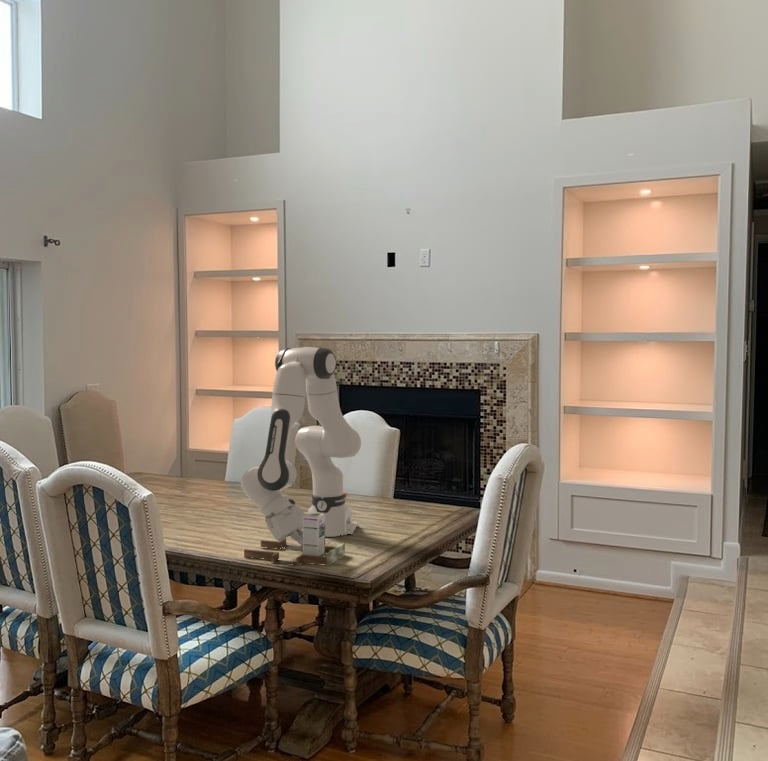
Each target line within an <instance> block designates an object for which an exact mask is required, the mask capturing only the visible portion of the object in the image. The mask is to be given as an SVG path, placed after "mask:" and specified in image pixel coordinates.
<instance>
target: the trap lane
mask: <svg viewBox="0 0 768 761" xmlns="http://www.w3.org/2000/svg"><path fill="white" fill-rule="evenodd" d="M261 547H267V548H277V549H280V548H282V547H283V548H284V547H285V549H284V550H286V549H295V550H294V551H297V550H301V551H302V549H303V544H302V545H294V544H293V545H292V544H287V538H285V539H283V540H281V541H278V540H276V541H275V540H268V539H267V540H265V539H261V540H260V548H261ZM277 549H276V550H277ZM280 550H281V549H280ZM301 551H300V552H301ZM325 553H327V554H326V556H325V557H322V556H312V555H302V554H300V555H299V556H297V557H296V561H294V560H293V562H291V560H283V559H280V552H278V551H270V550H269V551H268V550H267V551H266V550H257V549H248V548H247V549H244V550H243V555H244V556H243V557H244V558H245V557H253V558H252V559H255V558H264V559H263V560H265V559H271V560H270V563H271V562H273V563H272V564H275V563H282V564H281V565H285V564H293V565H292V566H295V565H300V564H301V563H303V564H305V563H314V564H313V565H315V564H325V565H331V564H332V563H334V562H335V561H336V560H338V559H339V558H340V557H342V556H343V555H344V554H345V555H346V542H340V543H339V544H338V545H336V546H331V545H325ZM345 555H344V556H345ZM344 556H343V557H344ZM343 557H342V558H343ZM278 559H279V560H278ZM340 559H341V558H340ZM340 559H339V560H340ZM339 560H338V561H339ZM289 561H290V562H289ZM336 562H337V561H336ZM336 562H335V563H336ZM335 563H334V564H335ZM301 565H302V564H301ZM301 565H300V566H301ZM325 565H324V566H325ZM332 565H333V564H332ZM332 565H331V566H332Z"/></svg>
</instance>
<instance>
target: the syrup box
mask: <svg viewBox="0 0 768 761" xmlns="http://www.w3.org/2000/svg"><path fill="white" fill-rule="evenodd" d="M302 531H303V549H302V552H301V555H312V556H322V557H324V556H325V557H326V554H325V546H326V537H325V514H323V513H315V512H310V513H309V514H308V513H307V514H305V516H303V529H302Z"/></svg>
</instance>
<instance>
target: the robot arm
mask: <svg viewBox="0 0 768 761" xmlns="http://www.w3.org/2000/svg"><path fill="white" fill-rule="evenodd" d="M274 360H275V361H274V367H275V370H276V375H275V378H274V382H273V389H272V394H271V395H272V396H271V409H270V410H271V411H270V414H271V415H270V422H269V423H270V424H269V429H268V436H267V442H266V448H265V454H264V457H263V459H262V460H261V463H260V464H259V466H253V467H251V468H250V469H248V470H247V471H246V472H245V473H244V474H243V476H242V477H241V480H240V486H241V489H242V491H243V492H244V494H245V495H246V496H247V497H248V499H249V500H250V501H251V502H252V503H253V504H255V506H257V508H258V509H259V512H260V513H261V514H262V516H263V517H264V519H265V520H264V521H265V523H266V528H267V529H268V530H269V532H270V533H271V535H272V536H273V537H274V539H275V540H276V541H278V542H279V541H281V540H283V539H285V538H286V539H287V538H289V537H290V538H291V539H292V540H294V541H296V542H297V543H298V544H299V546H301V545H302V544H303V516H305V515H306V514H305V512H304V511H303V510H302V509H301V507H300V506H298V505H297V504H298V503H297V501H296V500H295V499H294V498H287V497H284V496H283V495H282V491H285V490H286V489H287V488H290V487H291V486H293V484H294V483H295V482H296V480H297V478H298V469H297V467H296V465H295V464H294V463H293V462H292V461H289V460H287V459H286V453H287V446H288V439H289V434H290V431H291V429H292V428H293V427H294V425H295V424H296V423H297V422H298V421H299V420H300V419H301V418H302V416H303V413H304V410H305V406H306V405H305V404H306V400H307V408H308V412H309V414H310V416H311V417H312V418H314V419H315V420H316V421H318V422H319V424H320V425H308V426H303V427H301V428H300V429H299V430H298V431H297V432H296V435H295V446H296V448H297V450H298V451H299V453H301V454H302V455H303V457H304V458H305V459H306V461H307V463H308V465H309V468H310V471H311V476H312V494H311V498H310V499H311V506H310V507H309V508H308V512H307V514H309V513H310V512H315V513H323V514H325V538H327V537H330V538H333V537H340V535H341V536H348V535H347V534H351V535H353V534H354V533H355V531H356V530H357V528H358V526H359V524H358V522H357V521H353V516H352V515H353V513H352V510H351V509H350V508H349V507H348V506H347V504H346V498H347V492H344V474H343V472H342V470H341V469H340V468H339V467H337V466H336V465H335V464H334V463H333V462H334V461H332V458H338V459H346V458H347V459H348V458H352V457H355V456H356V455H357V454H358V453H359V452H360V450H361V447H362V438H361V436H360V433H359V432H357V430H355V429H354V428H353V427H352V426H350V424H349V423H348V422H347V420H346V419H345V416H344V415H343V413H342V411H341V410H342V409H341V407H340V401H339V394H338V385H337V382H336V376H335V370H336V368H337V359H336V355H335V354H334V352H333V351H332V350H331V349H328V348H326V347H315V346H313V347H312V346H303V347H293V348H292V347H286V348H283V349H281V350H279V352H277V355H276V356H275V359H274ZM356 527H357V528H356ZM354 530H355V531H354Z"/></svg>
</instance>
